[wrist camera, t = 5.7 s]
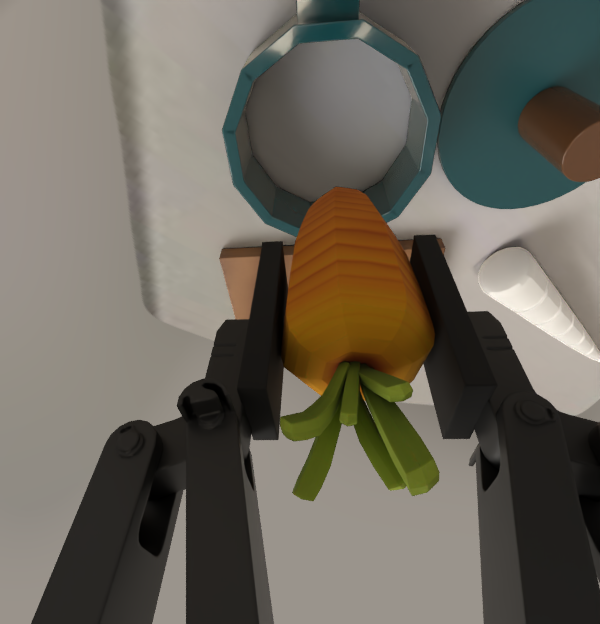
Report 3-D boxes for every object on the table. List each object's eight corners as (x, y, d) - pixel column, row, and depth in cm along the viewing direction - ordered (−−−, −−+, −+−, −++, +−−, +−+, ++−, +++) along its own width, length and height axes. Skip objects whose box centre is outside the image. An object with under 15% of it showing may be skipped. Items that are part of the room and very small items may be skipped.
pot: (442, -38, 21) (469, -36, 17) (405, 223, 32) (416, 255, 29) (211, -17, 22) (193, -11, 18) (255, 231, 33) (248, 263, 30)
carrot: (305, 243, 21) (295, 541, 11) (278, 159, 18) (225, 471, 7) (393, 223, 20) (481, 533, 10) (382, 130, 17) (499, 446, 6)
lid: (722, -35, 21) (857, -31, 16) (598, 201, 31) (656, 250, 25) (461, -12, 22) (508, 0, 17) (422, 210, 31) (444, 260, 26)
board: (441, 238, 33) (445, 247, 32) (424, 310, 40) (428, 320, 38) (221, 248, 35) (219, 258, 34) (239, 317, 41) (237, 327, 40)
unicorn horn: (567, 372, 46) (588, 406, 43) (467, 265, 35) (484, 299, 32) (609, 355, 44) (635, 389, 40) (516, 234, 33) (540, 267, 29)
